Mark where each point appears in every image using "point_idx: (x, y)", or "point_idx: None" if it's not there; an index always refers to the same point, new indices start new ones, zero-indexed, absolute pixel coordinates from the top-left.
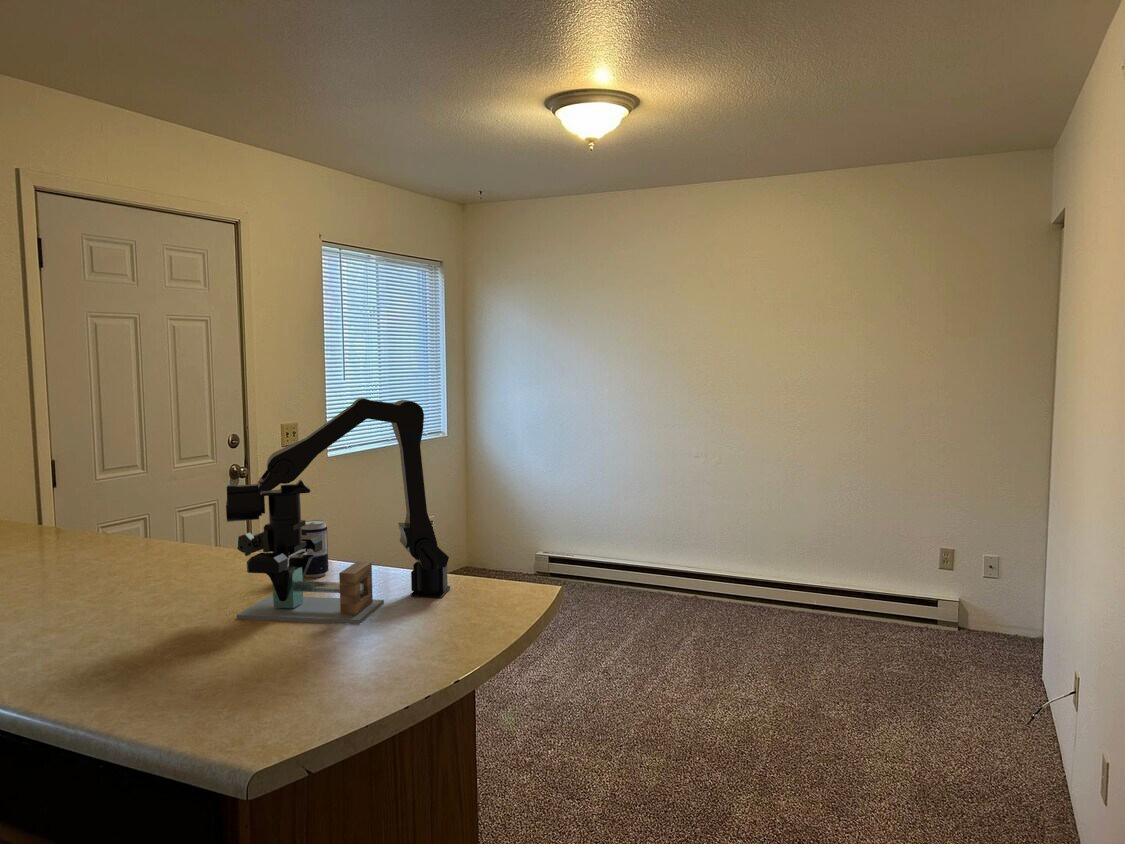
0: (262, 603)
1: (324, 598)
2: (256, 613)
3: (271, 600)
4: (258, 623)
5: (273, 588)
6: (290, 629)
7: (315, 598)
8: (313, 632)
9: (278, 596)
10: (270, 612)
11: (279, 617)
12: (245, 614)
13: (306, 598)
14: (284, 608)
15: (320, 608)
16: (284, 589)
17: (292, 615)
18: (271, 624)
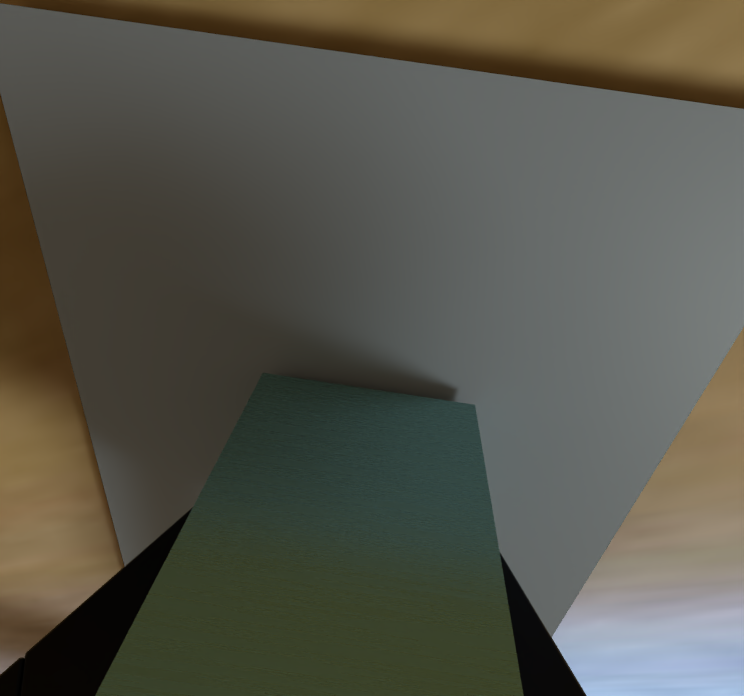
0: (464, 172)
1: (542, 613)
2: (104, 248)
3: (577, 244)
4: (13, 304)
5: (174, 552)
6: (8, 518)
7: (554, 573)
8: (21, 604)
9: (174, 525)
10: (167, 367)
11: (98, 452)
12: (33, 129)
13: (573, 524)
14: None
15: None
16: None
17: (146, 521)
18: (35, 402)
